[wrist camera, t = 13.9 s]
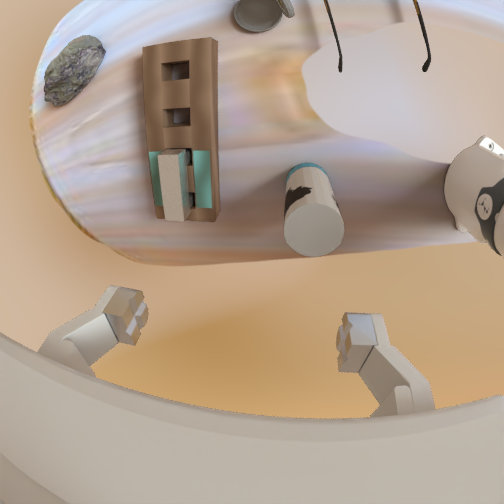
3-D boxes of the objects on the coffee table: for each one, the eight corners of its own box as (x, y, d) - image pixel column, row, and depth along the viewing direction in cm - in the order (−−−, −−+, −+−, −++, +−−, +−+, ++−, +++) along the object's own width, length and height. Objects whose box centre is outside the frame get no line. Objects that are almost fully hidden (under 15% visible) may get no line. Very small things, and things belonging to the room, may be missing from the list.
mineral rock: (62, 106, 37) (25, 119, 29) (54, 59, 32) (16, 65, 23) (113, 82, 35) (74, 88, 27) (104, 29, 29) (65, 26, 21)
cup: (277, 186, 43) (271, 235, 31) (304, 154, 39) (311, 190, 27) (310, 210, 45) (316, 266, 32) (337, 181, 41) (357, 228, 29)
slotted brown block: (217, 41, 31) (210, 37, 27) (220, 210, 47) (214, 222, 43) (154, 49, 32) (141, 47, 28) (165, 208, 48) (156, 219, 44)
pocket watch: (226, 20, 29) (207, 4, 21) (257, -20, 24) (248, -46, 16) (275, 45, 31) (270, 33, 22) (307, 5, 26) (312, -17, 18)
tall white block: (196, 141, 40) (178, 154, 34) (199, 199, 46) (184, 221, 39) (178, 141, 41) (157, 155, 34) (183, 198, 46) (165, 220, 40)
